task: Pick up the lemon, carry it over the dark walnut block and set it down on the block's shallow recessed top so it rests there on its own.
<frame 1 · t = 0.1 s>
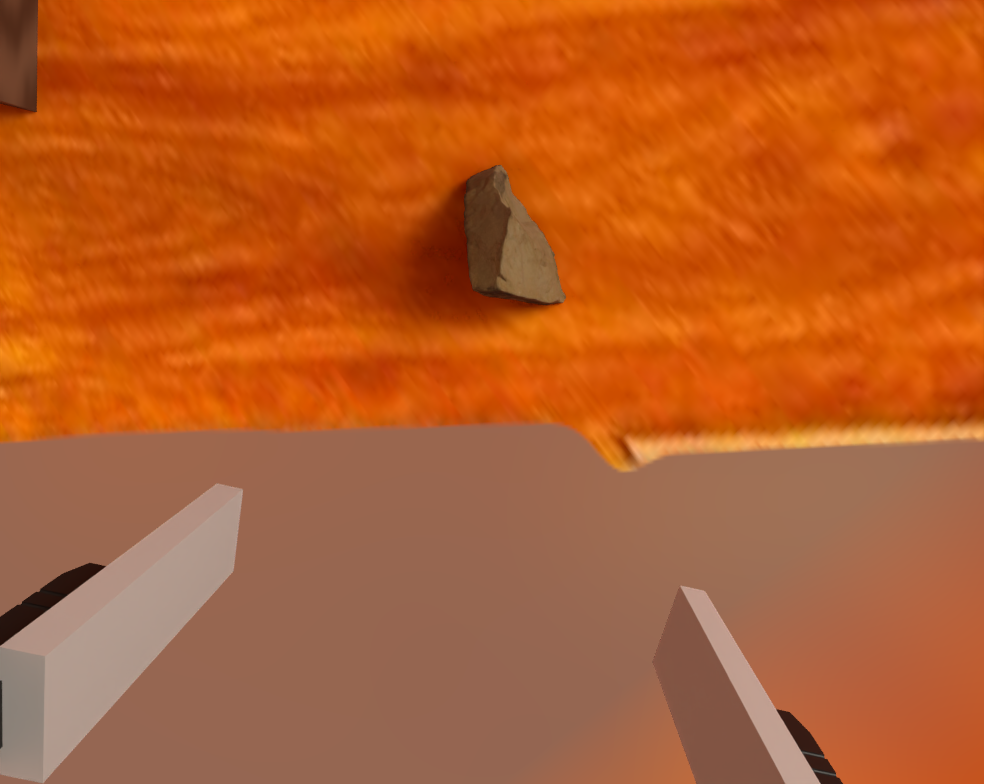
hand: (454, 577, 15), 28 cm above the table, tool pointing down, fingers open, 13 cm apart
rock: (517, 237, 40), on the table
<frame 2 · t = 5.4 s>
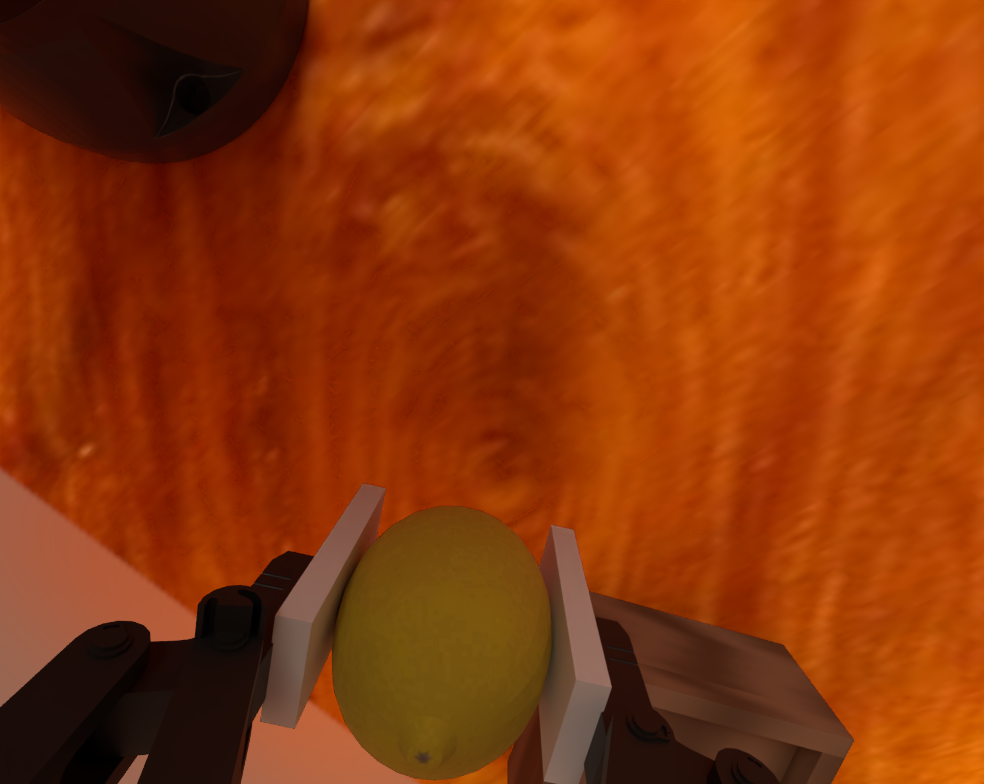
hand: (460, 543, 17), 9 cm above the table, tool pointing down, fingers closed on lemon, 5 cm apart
walnut block: (638, 701, 29), on the table
lemon: (458, 540, 18), point 9 cm above the table, touching gripper
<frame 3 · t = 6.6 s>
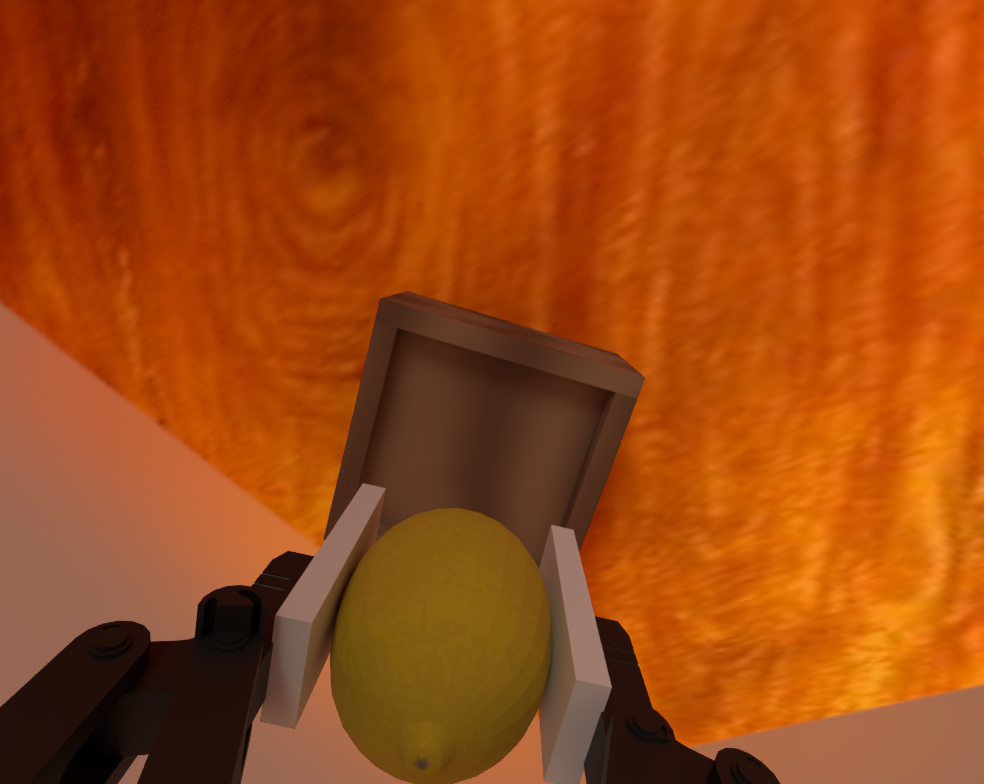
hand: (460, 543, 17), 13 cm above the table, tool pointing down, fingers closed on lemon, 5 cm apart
walnut block: (482, 422, 30), on the table
lemon: (458, 542, 18), point 12 cm above the table, touching gripper
when the fingers open (6 cm above the table, at t = 8.0 s): lemon drops 1 cm, resting on walnut block.
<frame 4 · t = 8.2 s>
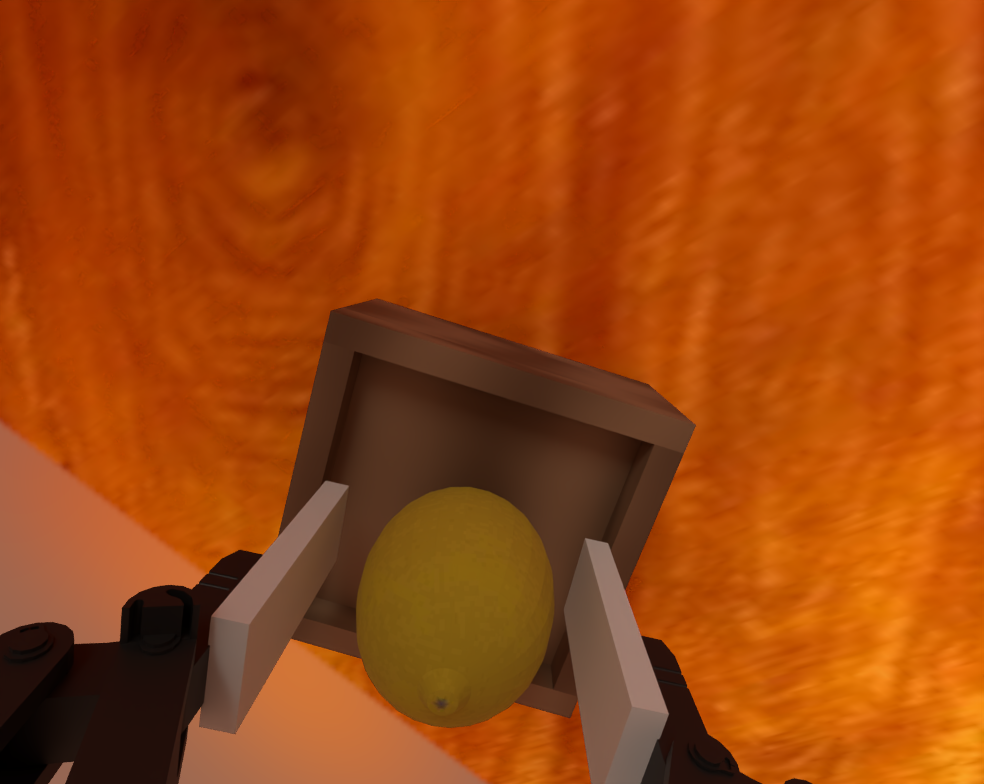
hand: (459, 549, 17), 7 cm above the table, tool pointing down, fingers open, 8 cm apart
walnut block: (473, 465, 24), on the table, touching lemon
lemon: (467, 520, 19), point 4 cm above the table, touching walnut block
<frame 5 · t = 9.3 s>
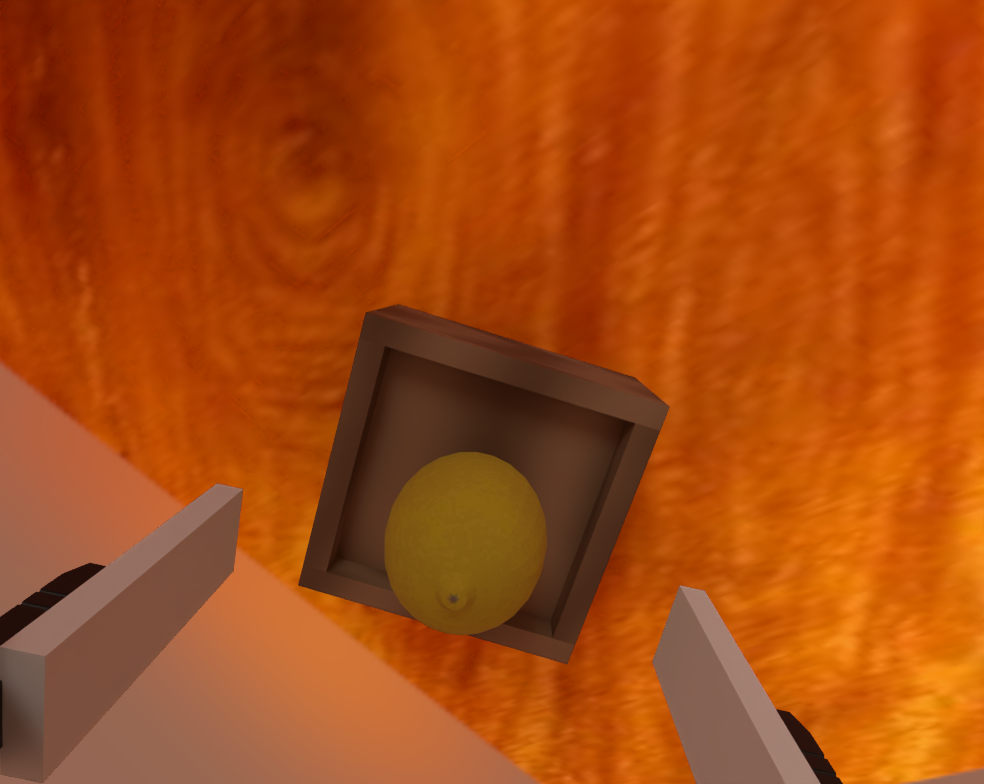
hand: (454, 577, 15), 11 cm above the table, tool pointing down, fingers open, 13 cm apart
walnut block: (482, 450, 27), on the table, touching lemon
lemon: (475, 490, 22), point 4 cm above the table, touching walnut block
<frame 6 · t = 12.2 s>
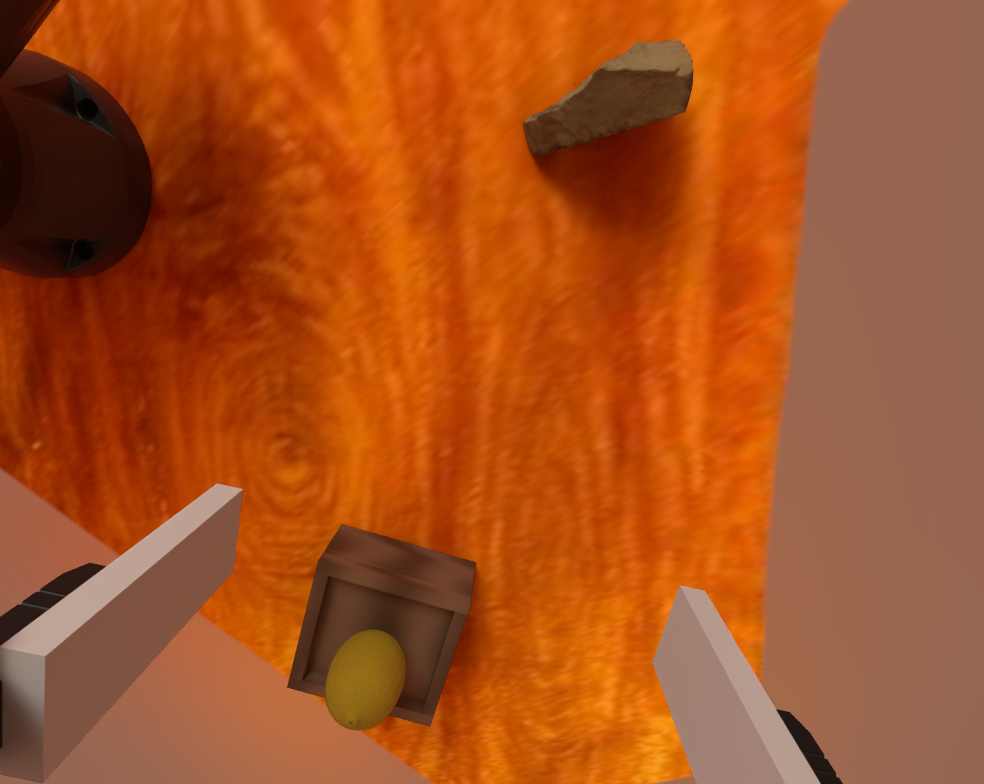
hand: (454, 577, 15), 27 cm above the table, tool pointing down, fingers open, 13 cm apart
walnut block: (393, 597, 47), on the table, touching lemon
rock: (595, 105, 37), on the table
lemon: (380, 635, 42), point 4 cm above the table, touching walnut block
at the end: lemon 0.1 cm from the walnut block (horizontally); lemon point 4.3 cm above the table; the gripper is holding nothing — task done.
